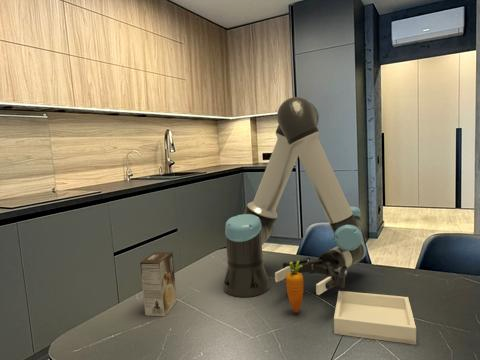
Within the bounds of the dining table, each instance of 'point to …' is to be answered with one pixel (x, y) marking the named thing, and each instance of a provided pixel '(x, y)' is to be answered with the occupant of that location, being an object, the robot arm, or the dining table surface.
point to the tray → (375, 317)
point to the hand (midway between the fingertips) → (295, 283)
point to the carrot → (295, 287)
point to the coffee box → (158, 283)
